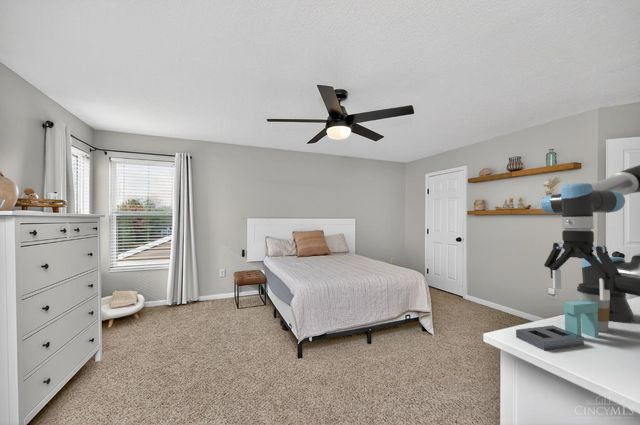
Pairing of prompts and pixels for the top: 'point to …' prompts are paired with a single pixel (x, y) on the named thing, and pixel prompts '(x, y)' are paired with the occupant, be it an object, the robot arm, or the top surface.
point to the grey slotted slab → (549, 337)
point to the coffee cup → (593, 294)
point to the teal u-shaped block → (581, 317)
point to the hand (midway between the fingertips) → (579, 293)
